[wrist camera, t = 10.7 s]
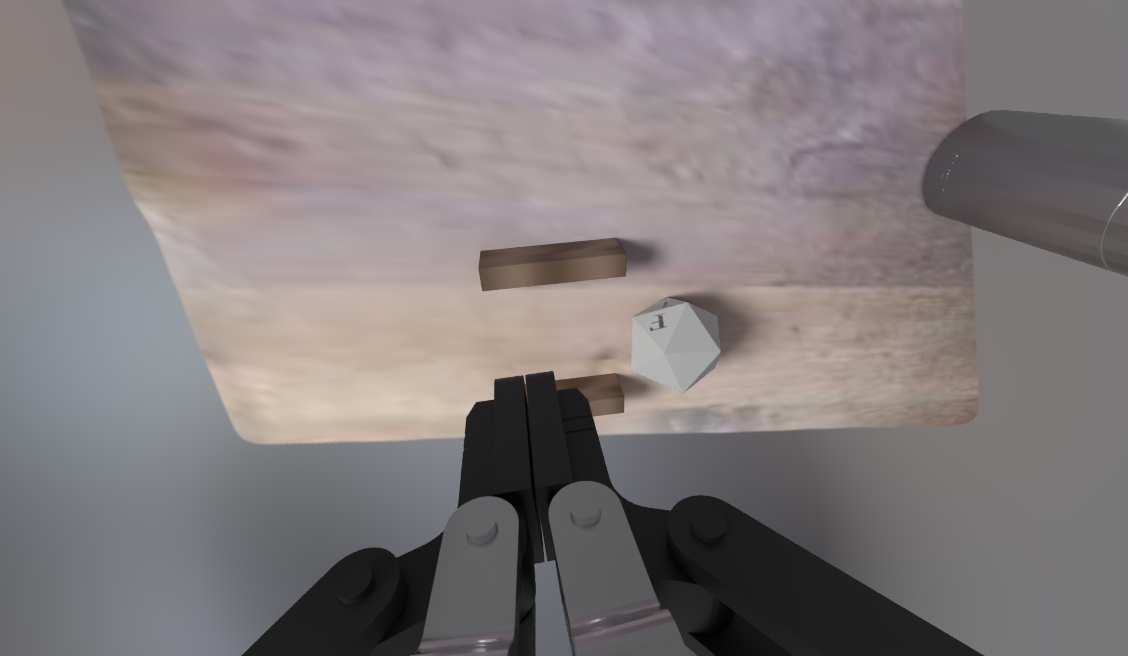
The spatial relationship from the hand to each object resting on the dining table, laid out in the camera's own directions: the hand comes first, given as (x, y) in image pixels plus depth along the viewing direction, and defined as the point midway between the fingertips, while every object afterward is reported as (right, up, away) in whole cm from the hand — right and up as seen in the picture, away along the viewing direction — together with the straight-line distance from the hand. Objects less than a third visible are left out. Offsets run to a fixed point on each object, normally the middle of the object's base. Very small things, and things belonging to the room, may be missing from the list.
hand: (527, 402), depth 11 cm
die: (+11, +3, +33) cm, 35 cm away
